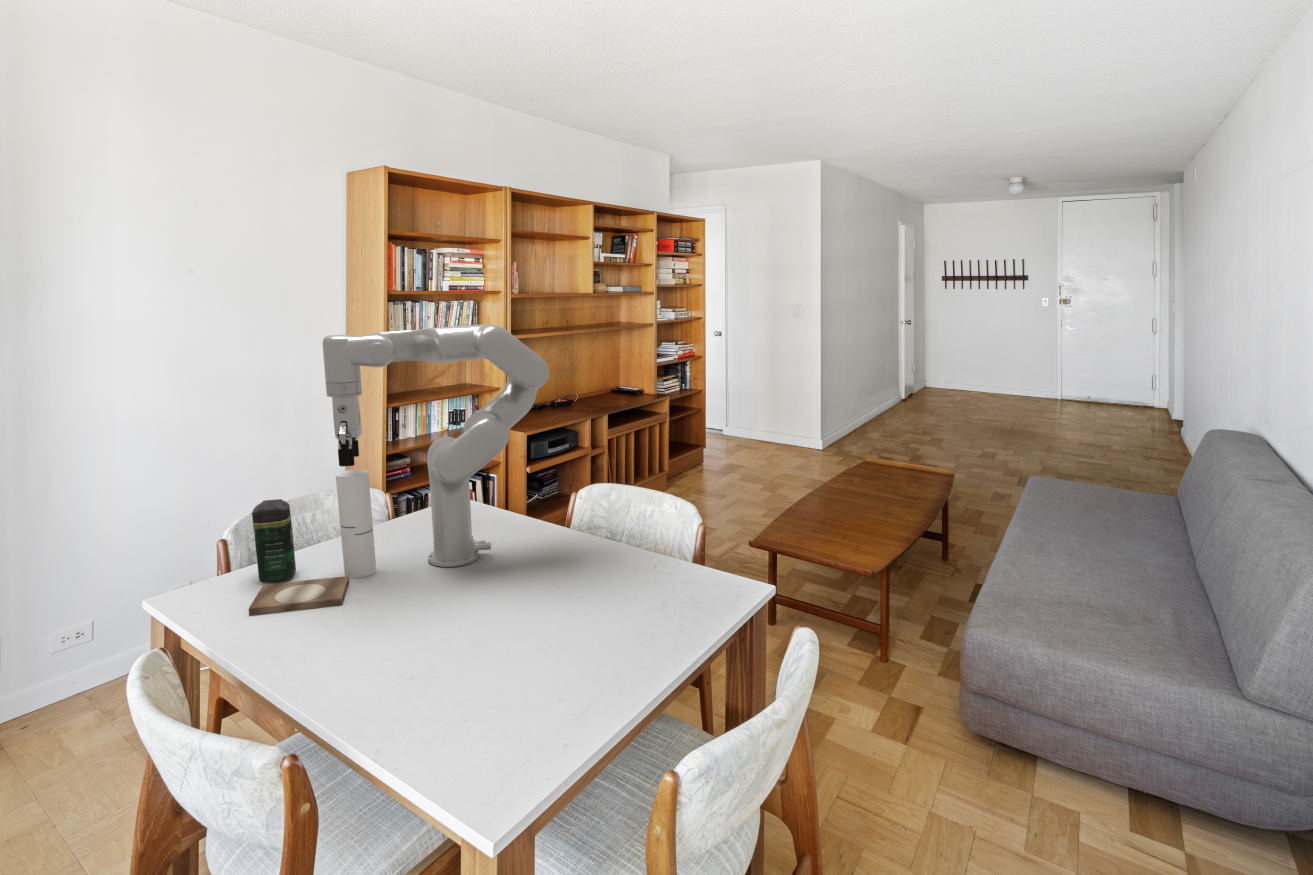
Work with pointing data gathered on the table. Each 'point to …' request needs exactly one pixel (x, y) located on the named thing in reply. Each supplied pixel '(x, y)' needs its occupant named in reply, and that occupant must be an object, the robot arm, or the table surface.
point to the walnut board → (299, 595)
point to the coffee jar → (274, 541)
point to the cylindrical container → (356, 523)
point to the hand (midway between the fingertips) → (349, 461)
